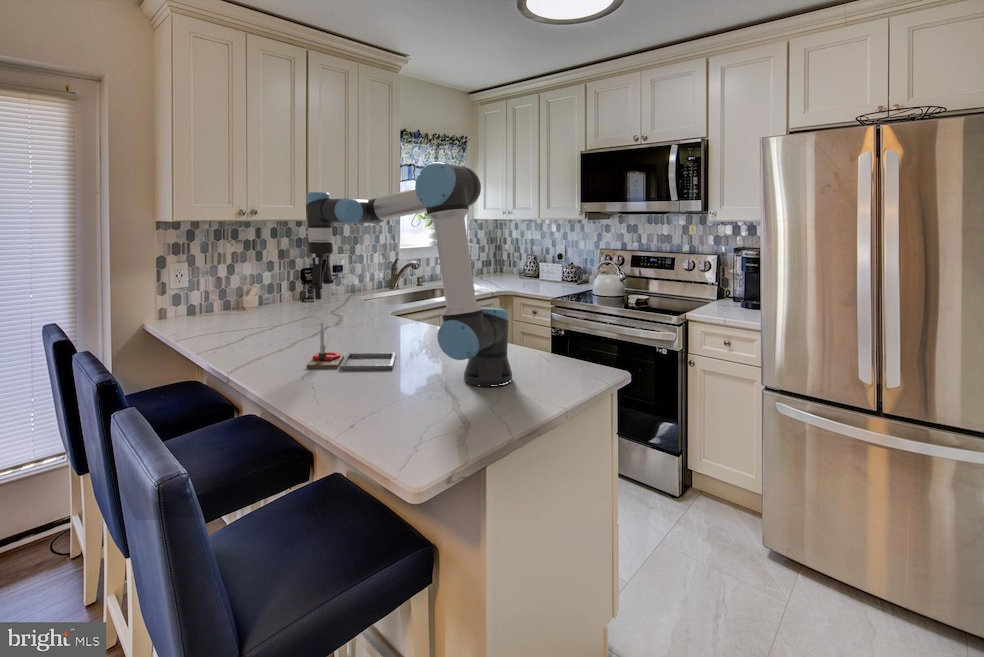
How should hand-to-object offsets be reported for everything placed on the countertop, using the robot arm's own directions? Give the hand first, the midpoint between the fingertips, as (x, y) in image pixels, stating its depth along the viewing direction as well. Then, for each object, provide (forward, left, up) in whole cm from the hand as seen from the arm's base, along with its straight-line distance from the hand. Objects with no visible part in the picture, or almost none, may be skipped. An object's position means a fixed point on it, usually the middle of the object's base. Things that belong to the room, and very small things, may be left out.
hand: (323, 305), depth 173 cm
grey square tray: (0, -14, -20) cm, 25 cm away
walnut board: (0, 0, -20) cm, 20 cm away
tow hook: (+4, 0, -19) cm, 19 cm away
